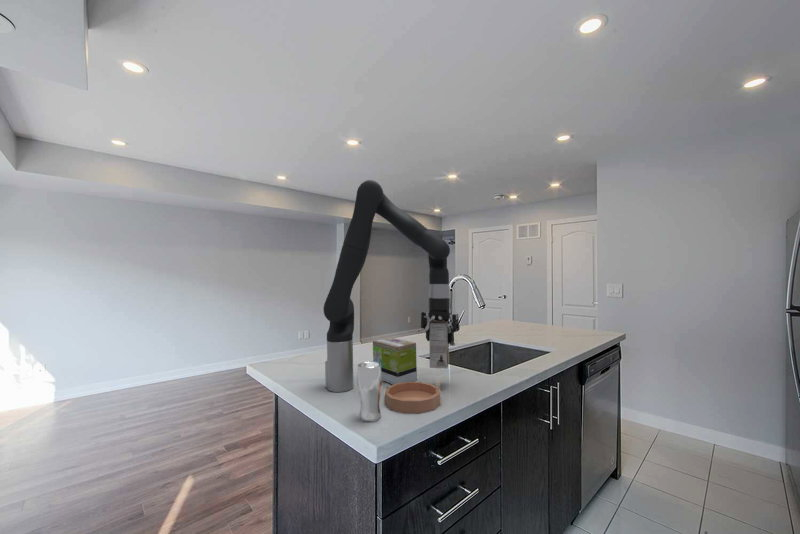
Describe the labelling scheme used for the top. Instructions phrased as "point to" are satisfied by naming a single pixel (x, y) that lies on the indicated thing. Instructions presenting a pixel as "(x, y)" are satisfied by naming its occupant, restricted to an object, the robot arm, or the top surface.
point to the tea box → (396, 360)
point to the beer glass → (369, 390)
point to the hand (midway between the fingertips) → (439, 342)
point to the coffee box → (439, 344)
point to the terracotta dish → (412, 397)
